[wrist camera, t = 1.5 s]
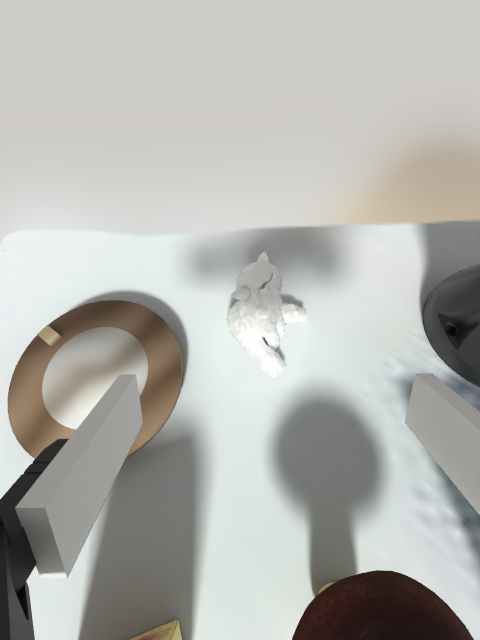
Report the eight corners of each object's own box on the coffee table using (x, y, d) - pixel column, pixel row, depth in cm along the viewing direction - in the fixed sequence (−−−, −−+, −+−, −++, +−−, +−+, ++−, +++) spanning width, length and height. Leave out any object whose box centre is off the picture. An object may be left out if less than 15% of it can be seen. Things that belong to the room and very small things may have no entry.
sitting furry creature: (279, 383, 32) (295, 347, 21) (211, 352, 34) (194, 304, 23) (307, 315, 36) (334, 254, 25) (245, 290, 38) (244, 222, 27)
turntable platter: (216, 358, 32) (214, 354, 30) (93, 514, 26) (84, 518, 24) (105, 279, 37) (99, 272, 35) (-20, 396, 31) (-33, 393, 29)
